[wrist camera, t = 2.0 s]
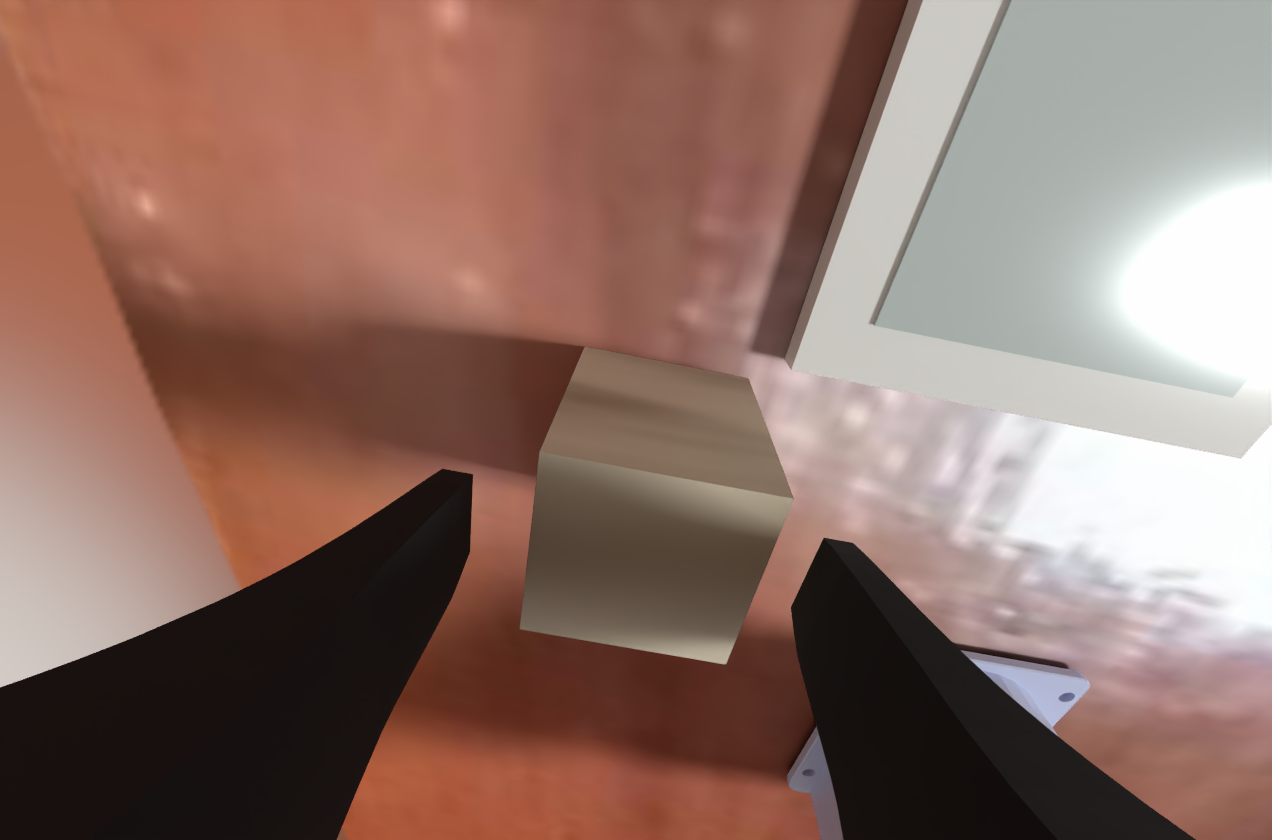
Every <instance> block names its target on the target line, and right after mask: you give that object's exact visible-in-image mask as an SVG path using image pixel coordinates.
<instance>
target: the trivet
mask: <svg viewBox="0 0 1272 840" xmlns="http://www.w3.org/2000/svg"><path fill="white" fill-rule="evenodd" d="M785 360H786V362H787V364H788V366H789V367H790V369H791V370H793V371H798V372H803V373H808V374H813V375H818V376H823V377H829V378H834V379H839V380H844V381H849V382H854V383H859V384H864V385H869V386H874V387H879V388H885V389H890V390H895V391H900V392H905V393H910V394H915V395H920V396H925V397H930V398H935V399H941V400H946V401H951V402H956V403H961V404H966V405H971V406H976V407H981V408H986V409H991V410H997V411H1002V412H1007V413H1012V414H1017V415H1022V416H1027V417H1032V418H1037V419H1042V420H1048V421H1053V422H1058V423H1063V424H1068V425H1073V426H1078V427H1083V428H1088V429H1093V430H1098V431H1104V432H1109V433H1114V434H1119V435H1124V436H1129V437H1134V438H1139V439H1144V440H1149V441H1154V442H1160V443H1165V444H1170V445H1175V446H1180V447H1185V448H1190V449H1195V450H1200V451H1205V452H1211V453H1216V454H1221V455H1226V456H1231V457H1236V458H1242V457H1243V455H1244V454H1245V453H1246V452H1247V451H1248V450H1249V449H1250V448H1251V446H1252V445H1253V444H1254V443H1255V442H1256V441H1257V440H1258V439H1259V437H1260V436H1261V435H1262V434H1263V433H1264V432H1265V431H1266V430H1267V428H1268V427H1269V426H1270V425H1271V424H1272V0H908V3H907V6H906V9H905V12H904V15H903V18H902V21H901V24H900V26H899V29H898V32H897V35H896V38H895V41H894V44H893V47H892V50H891V52H890V55H889V58H888V61H887V64H886V67H885V70H884V73H883V76H882V78H881V81H880V84H879V87H878V90H877V93H876V96H875V99H874V102H873V104H872V107H871V110H870V113H869V116H868V119H867V122H866V125H865V128H864V131H863V133H862V136H861V139H860V142H859V145H858V148H857V151H856V154H855V157H854V159H853V162H852V165H851V168H850V171H849V174H848V177H847V180H846V183H845V185H844V188H843V191H842V194H841V197H840V200H839V203H838V206H837V209H836V211H835V214H834V217H833V220H832V223H831V226H830V229H829V232H828V235H827V238H826V240H825V243H824V246H823V249H822V252H821V255H820V258H819V261H818V264H817V266H816V269H815V272H814V275H813V278H812V281H811V284H810V287H809V290H808V292H807V295H806V298H805V301H804V304H803V307H802V310H801V313H800V316H799V318H798V321H797V324H796V327H795V330H794V333H793V336H792V339H791V342H790V345H789V347H788V350H787V353H786V356H785Z"/></svg>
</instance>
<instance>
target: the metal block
mask: <svg viewBox="0 0 1272 840" xmlns="http://www.w3.org/2000/svg"><path fill="white" fill-rule="evenodd" d="M793 500H794V498H793V495H792V493H791V490H790V487H789V485H788V482H787V479H786V477H785V474H784V471H783V469H782V466H781V463H780V461H779V458H778V455H777V453H776V450H775V448H774V445H773V442H772V440H771V437H770V434H769V432H768V429H767V426H766V424H765V421H764V418H763V416H762V413H761V410H760V408H759V405H758V402H757V400H756V397H755V395H754V392H753V389H752V387H751V384H750V381H749V379H748V378H744V377H739V376H733V375H728V374H723V373H718V372H713V371H708V370H703V369H697V368H692V367H687V366H682V365H677V364H672V363H667V362H661V361H656V360H651V359H646V358H641V357H636V356H631V355H625V354H620V353H615V352H610V351H605V350H600V349H595V348H589V347H584V349H583V352H582V354H581V356H580V359H579V361H578V363H577V366H576V368H575V370H574V373H573V375H572V377H571V380H570V382H569V384H568V387H567V389H566V391H565V394H564V396H563V398H562V401H561V403H560V405H559V408H558V410H557V412H556V415H555V417H554V419H553V422H552V424H551V426H550V428H549V431H548V433H547V435H546V438H545V440H544V442H543V445H542V447H541V449H540V452H539V460H538V469H537V478H536V487H535V496H534V505H533V514H532V523H531V532H530V541H529V550H528V559H527V568H526V577H525V586H524V595H523V604H522V613H521V621H520V629H521V630H527V631H533V632H538V633H544V634H550V635H556V636H562V637H568V638H573V639H579V640H585V641H591V642H597V643H603V644H608V645H614V646H620V647H626V648H632V649H638V650H644V651H649V652H655V653H661V654H667V655H673V656H679V657H684V658H690V659H696V660H702V661H708V662H714V663H720V664H725V665H726V663H727V661H728V658H729V656H730V653H731V651H732V648H733V646H734V644H735V641H736V639H737V636H738V634H739V631H740V629H741V626H742V624H743V622H744V619H745V617H746V614H747V612H748V609H749V607H750V605H751V602H752V600H753V597H754V595H755V592H756V590H757V587H758V585H759V583H760V580H761V578H762V575H763V573H764V570H765V568H766V566H767V563H768V561H769V558H770V556H771V553H772V551H773V549H774V546H775V544H776V541H777V539H778V536H779V534H780V531H781V529H782V527H783V524H784V522H785V519H786V517H787V514H788V512H789V510H790V507H791V505H792V502H793Z"/></svg>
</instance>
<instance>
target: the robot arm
mask: <svg viewBox="0 0 1272 840" xmlns="http://www.w3.org/2000/svg"><path fill="white" fill-rule="evenodd" d="M472 483H473V474H468V473H462V472H457V471H451V470H446V469H441V470H440V471H438V472H437V473H435V474H434V475H432V476H431V477H429V478H428V479H426V480H425V481H423V482H422V483H420V484H419V485H417V486H416V487H414V488H413V489H411V490H410V491H408V492H407V493H405V494H404V495H403V496H401V497H400V498H398V499H397V500H395V501H394V502H392V503H391V504H389V505H388V506H386V507H385V508H383V509H382V510H380V511H379V512H377V513H375V514H374V515H372V516H371V517H369V518H368V519H366V520H365V521H363V522H362V523H360V524H358V525H357V526H355V527H354V528H352V529H351V530H349V531H347V532H346V533H344V534H343V535H341V536H339V537H338V538H336V539H334V540H332V541H331V542H329V543H327V544H326V545H324V546H322V547H321V548H319V549H317V550H316V551H314V552H312V553H310V554H309V555H307V556H305V557H304V558H302V559H300V560H298V561H296V562H295V563H293V564H291V565H289V566H287V567H285V568H284V569H282V570H280V571H278V572H276V573H274V574H272V575H270V576H268V577H266V578H264V579H262V580H260V581H258V582H256V583H254V584H252V585H250V586H248V587H246V588H244V589H242V590H240V591H238V592H236V593H234V594H232V595H230V596H228V597H226V598H223V599H221V600H219V601H217V602H215V603H213V604H210V605H208V606H206V607H203V608H201V609H199V610H197V611H195V612H192V613H190V614H187V615H185V616H183V617H180V618H178V619H176V620H174V621H171V622H169V623H167V624H164V625H162V626H160V627H157V628H155V629H153V630H150V631H148V632H146V633H144V634H141V635H139V636H137V637H134V638H132V639H129V640H127V641H124V642H122V643H119V644H117V645H114V646H112V647H109V648H106V649H104V650H101V651H99V652H96V653H93V654H91V655H88V656H86V657H83V658H80V659H78V660H75V661H72V662H70V663H67V664H64V665H62V666H59V667H56V668H53V669H51V670H48V671H45V672H43V673H40V674H37V675H34V676H32V677H29V678H26V679H23V680H21V681H18V682H15V683H12V684H9V685H6V686H3V687H1V688H0V840H336V839H337V837H338V834H339V832H340V830H341V827H342V825H343V822H344V820H345V818H346V815H347V813H348V810H349V808H350V805H351V803H352V800H353V798H354V796H355V793H356V791H357V788H358V786H359V784H360V781H361V779H362V777H363V774H364V772H365V770H366V767H367V765H368V763H369V760H370V758H371V756H372V753H373V751H374V749H375V746H376V744H377V742H378V739H379V737H380V735H381V732H382V730H383V728H384V726H385V724H386V722H387V720H388V718H389V716H390V714H391V712H392V710H393V708H394V706H395V704H396V702H397V700H398V698H399V696H400V694H401V693H402V691H403V689H404V687H405V685H406V683H407V681H408V679H409V678H410V676H411V674H412V672H413V670H414V668H415V666H416V665H417V663H418V661H419V659H420V657H421V655H422V653H423V651H424V650H425V648H426V646H427V644H428V642H429V640H430V638H431V637H432V635H433V633H434V631H435V629H436V627H437V625H438V623H439V621H440V620H441V618H442V616H443V614H444V612H445V610H446V608H447V606H448V604H449V602H450V600H451V599H452V596H453V594H454V591H455V589H456V586H457V584H458V581H459V579H460V576H461V574H462V571H463V568H464V566H465V563H466V560H467V558H468V555H469V553H470V535H471V509H472ZM791 612H792V620H793V628H794V636H795V642H796V649H797V655H798V659H799V663H800V667H801V671H802V675H803V679H804V682H805V686H806V690H807V694H808V697H809V701H810V705H811V708H812V712H813V715H814V719H815V723H816V728H815V729H814V731H813V733H812V734H811V736H810V738H809V739H808V741H807V743H806V745H805V746H804V748H803V750H802V751H801V753H800V755H799V756H798V758H797V760H796V761H795V763H794V765H793V766H792V768H791V770H790V771H789V773H788V775H787V781H788V785H789V787H790V788H791V789H792V790H794V791H798V792H804V793H810V794H811V798H812V803H813V807H814V812H815V816H816V821H817V825H818V829H819V834H820V838H821V840H1196V839H1194V838H1193V837H1191V836H1190V835H1188V834H1187V833H1186V832H1184V831H1183V830H1181V829H1180V828H1179V827H1177V826H1176V825H1174V824H1173V823H1172V822H1170V821H1169V820H1167V819H1166V818H1165V817H1163V816H1162V815H1160V814H1159V813H1158V812H1156V811H1155V810H1153V809H1152V808H1151V807H1149V806H1148V805H1147V804H1145V803H1144V802H1142V801H1141V800H1140V799H1138V798H1137V797H1136V796H1134V795H1133V794H1132V793H1131V792H1129V791H1128V790H1127V789H1125V788H1124V787H1123V786H1121V785H1120V784H1119V783H1117V782H1116V781H1115V780H1113V779H1112V778H1111V777H1109V776H1108V775H1107V774H1105V773H1104V772H1103V771H1101V770H1100V769H1099V768H1097V767H1096V766H1095V765H1093V764H1092V763H1091V762H1089V761H1088V760H1087V759H1086V758H1084V757H1083V756H1082V755H1081V754H1079V753H1078V752H1077V751H1076V750H1074V749H1073V748H1072V747H1071V746H1069V745H1068V744H1067V743H1065V742H1064V741H1063V740H1062V739H1061V738H1059V736H1058V735H1057V733H1056V732H1055V731H1054V729H1053V728H1052V727H1053V726H1054V725H1055V724H1056V723H1057V722H1058V720H1059V719H1060V718H1061V717H1062V716H1063V715H1064V714H1065V713H1066V712H1067V711H1068V710H1069V709H1070V708H1071V707H1072V706H1073V705H1074V704H1075V703H1076V702H1077V701H1078V700H1079V699H1080V698H1081V697H1082V696H1083V695H1084V694H1085V693H1086V691H1087V690H1088V689H1089V687H1090V683H1089V681H1088V680H1087V679H1086V678H1085V676H1084V675H1083V674H1082V673H1081V672H1079V671H1076V670H1070V669H1065V668H1059V667H1053V666H1048V665H1042V664H1036V663H1031V662H1025V661H1020V660H1014V659H1008V658H1003V657H997V656H991V655H986V654H980V653H974V652H969V651H963V650H960V649H958V648H957V647H956V646H955V645H954V644H953V643H952V642H951V641H950V640H949V639H948V638H947V637H946V636H945V635H944V634H943V633H942V632H941V631H940V630H939V629H938V628H937V627H936V626H935V625H934V624H933V623H932V622H931V621H930V620H929V619H928V618H927V617H926V616H925V615H924V614H923V613H922V612H921V611H920V610H919V609H918V608H917V607H916V606H915V605H914V604H913V603H912V602H911V601H910V600H909V599H908V598H907V597H906V596H905V595H904V593H903V592H902V591H901V590H900V589H899V588H898V587H897V586H896V585H895V584H894V583H893V582H892V581H891V580H890V579H889V578H888V577H887V576H886V575H885V574H884V573H883V572H882V571H881V570H880V569H879V568H878V567H877V566H876V565H875V564H874V563H873V562H872V561H871V560H870V559H869V558H868V557H867V556H866V555H865V554H864V553H863V552H862V551H861V550H860V549H859V548H858V547H857V546H856V545H854V544H853V543H850V542H845V541H839V540H833V539H828V538H823V541H822V543H821V545H820V547H819V549H818V551H817V553H816V555H815V558H814V560H813V562H812V564H811V566H810V568H809V570H808V572H807V575H806V577H805V579H804V581H803V583H802V585H801V587H800V589H799V592H798V594H797V596H796V598H795V600H794V602H793V604H792V606H791Z"/></svg>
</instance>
